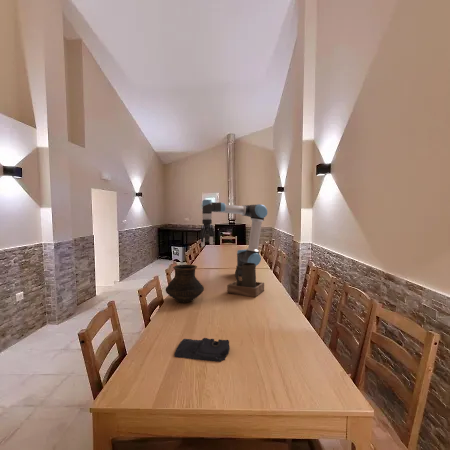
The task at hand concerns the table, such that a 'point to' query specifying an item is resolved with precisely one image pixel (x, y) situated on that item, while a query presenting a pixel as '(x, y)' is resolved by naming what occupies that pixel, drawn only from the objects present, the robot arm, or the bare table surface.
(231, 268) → the table surface
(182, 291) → the ceramic pot
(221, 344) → the dark grey flat piece
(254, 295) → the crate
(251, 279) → the beer stein
